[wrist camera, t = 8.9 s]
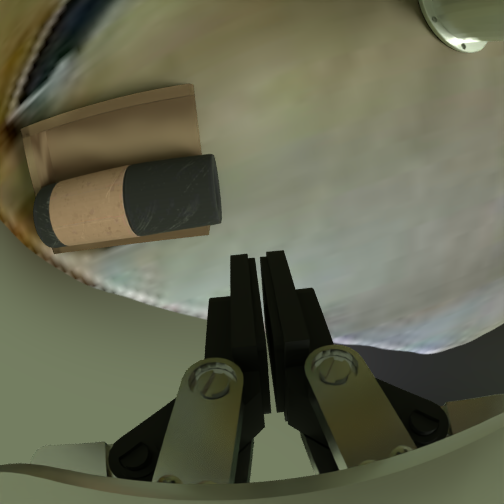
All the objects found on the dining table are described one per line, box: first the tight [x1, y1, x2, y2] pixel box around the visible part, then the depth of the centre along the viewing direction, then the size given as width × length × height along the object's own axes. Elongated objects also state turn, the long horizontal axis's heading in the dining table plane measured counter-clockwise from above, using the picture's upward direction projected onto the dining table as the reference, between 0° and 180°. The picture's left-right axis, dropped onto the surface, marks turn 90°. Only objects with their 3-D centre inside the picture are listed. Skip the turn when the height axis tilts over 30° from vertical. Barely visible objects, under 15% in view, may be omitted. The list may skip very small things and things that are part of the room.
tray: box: [21, 84, 210, 254], centre depth 32 cm, size 16×20×4 cm
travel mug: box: [33, 154, 222, 248], centre depth 31 cm, size 8×8×20 cm
